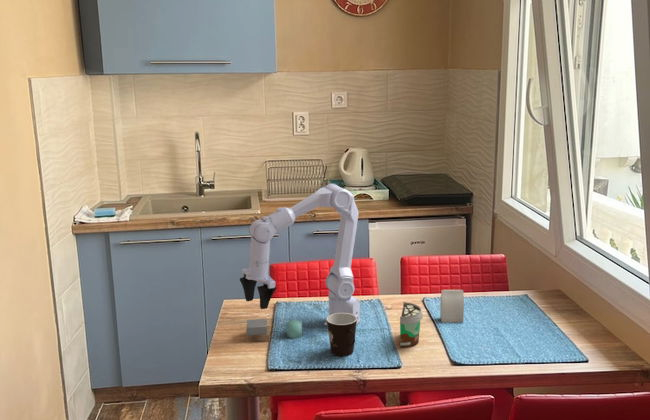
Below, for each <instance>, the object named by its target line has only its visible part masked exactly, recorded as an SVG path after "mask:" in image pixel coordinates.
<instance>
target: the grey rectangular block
mask: <svg viewBox="0 0 650 420" xmlns="http://www.w3.org/2000/svg"><path fill="white" fill-rule="evenodd" d="M440 291H441V293H440V294H441V295H440V308H439V309H440V315H439V316H440V317H439V318H440V321H442V322H441V323H464V318H465V317H464V315H465V314H464V312H465V307H464V306H465V300H464V298H465V297H464V296H465V295H464V289H441V290H440Z"/></svg>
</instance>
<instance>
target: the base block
mask: <svg viewBox="0 0 650 420" xmlns="http://www.w3.org/2000/svg"><path fill="white" fill-rule="evenodd" d="M245 330H246V331H245V343H246V344H247V343H248V344H249V343H265V342H266V343H268V342H270V341H271V339H270V338H271V326H270V325H267V335H250V336H247V329H245Z"/></svg>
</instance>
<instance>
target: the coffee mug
mask: <svg viewBox="0 0 650 420" xmlns="http://www.w3.org/2000/svg"><path fill="white" fill-rule="evenodd" d="M326 322H327V325H326V326H327V331H328V338H329V346H330V351H331V354H332V355H334V356H337V357H347V356H350V355H352V354H354V351H355V350H354V349H355V343H356V331H357V325H358V324H357V317H356V316H355V315H353V314H349V313H335V314H332V315H329V314H328V316H327V317H326ZM356 324H357V325H356Z"/></svg>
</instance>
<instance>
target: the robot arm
mask: <svg viewBox="0 0 650 420" xmlns="http://www.w3.org/2000/svg"><path fill="white" fill-rule="evenodd" d="M319 207H323V208H332V207H333V208H334V210H335V211H336V212H337V213H338V215H340V220H339V226H338V232H337V240H336V247H335V255H334V261H333V262H334V263H333V265H332V266H331V267H330V268H329V273H328V275H327V276H326V279H325V286H326V288H327V289H328V290H329V291H328V316H329V315H332V314H335V313H349V314H353V315H355V316H356V317H357V324H356V326H357V325H358V324H359V323H360V322H361V321H362V319H361V305H360V304H361V303H360V302H361V301H360V299H359V298H357V297H354V296H353V295H354V292H355V284H354V275H353V271H352V262H353V261H352V260H353V255H354V248H355V243H356V241H355V240H356V233H357V227H358V220H359V215H360V214H359V209H358V207H357V205H356V201H355V196H354V195H353V194H352V192H350V191H349V190H348V189H347V188H343V187H342V186H341V187H340V186H339V185H337V184H335V183H329V184H327V185H325V186H323V187H321V188H318V189H317V190H316V191H315V192H314V193H312V194H310V195H308V196H307V197H305V198H303V199H302V200H301V201H299V202H297V203H296V204H295V205H293V206H291V207H286V206H283V207H280V206H279V207H277V208H276V211H274V212H272V213H270V214H268V215H267V216H265V215H264V216H262V217H261V218H262V219H256V220H254V221H253V222H252V223H251V224H250V226H249V228H248V233H249V234H250V236H251V238H250V248H249V263H248V264H249V265H248V266H249V267H248V268H242V269H241V276H242V277H240V278H239V281H240V283H241V285H242V289H243V292H244V298H245V301H246V302H252V301H253V300H254V298H255V297H254V296H255V291H256V290H255V289H257V290H258V291H257V292H258V295H259V309H261V310H266V309H268V307H269V304H270V301H271V299H272V297H273V295H274V293H275V292H276V290H277V286H276V281H275V280H274V279H273V278H272V277H271V276H270V275H269V268H270V267H269V266H270V254H271V253H270V252H271V250H270V249H271V248H270V247H271V245H270V244H271V240H272V239H273V238H274V235H276V234H278V233H280V232H281V231H283V230H285V229H287V228H288V227H290V226H292V225H294V223H295V220H296V218H299V217H300V216H302V215H304V214H307V213H309V212H310V211H312V210H314V209H316V208H319ZM257 283H259V284H261V285H259V286H256V285H257ZM256 287H257V288H256ZM324 325H325V326H327V321H325V322H324Z"/></svg>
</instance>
